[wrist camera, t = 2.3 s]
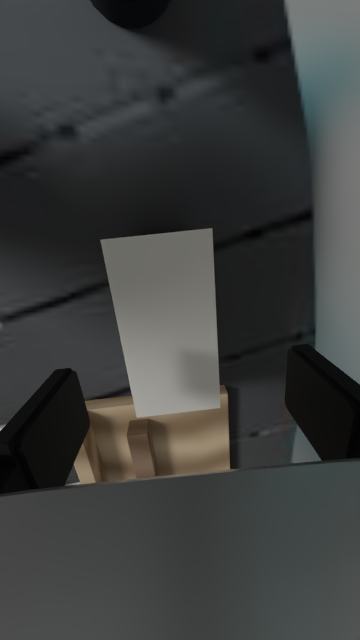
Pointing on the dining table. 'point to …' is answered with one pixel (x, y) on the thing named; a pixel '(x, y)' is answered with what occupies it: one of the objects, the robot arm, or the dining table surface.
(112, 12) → the black bottle
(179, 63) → the dining table surface
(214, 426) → the cleat board
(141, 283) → the light grey block
